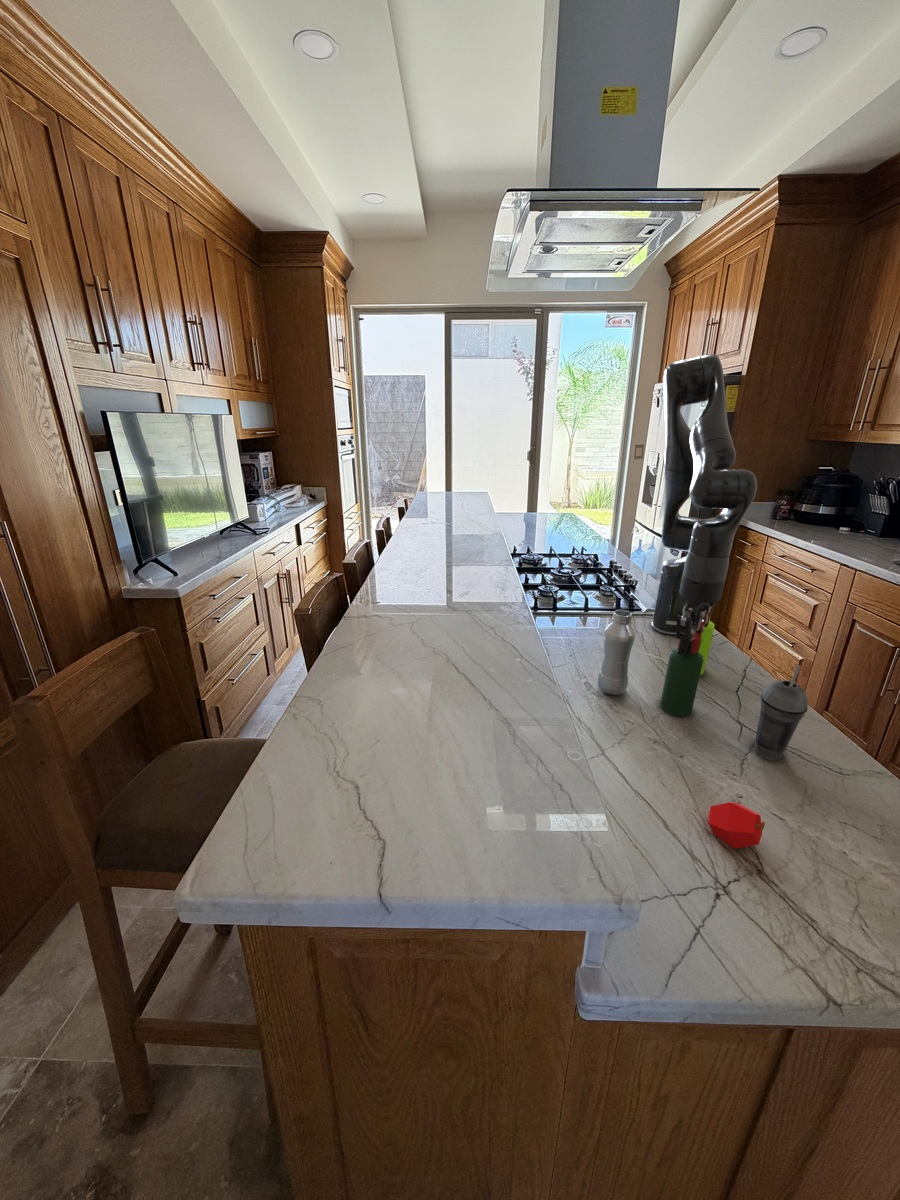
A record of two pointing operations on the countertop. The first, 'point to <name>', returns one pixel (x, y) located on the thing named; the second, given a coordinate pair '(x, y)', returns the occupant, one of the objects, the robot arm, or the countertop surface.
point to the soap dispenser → (706, 643)
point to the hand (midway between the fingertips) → (687, 651)
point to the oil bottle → (681, 683)
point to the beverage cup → (779, 716)
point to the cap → (695, 643)
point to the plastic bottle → (616, 654)
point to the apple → (736, 824)
